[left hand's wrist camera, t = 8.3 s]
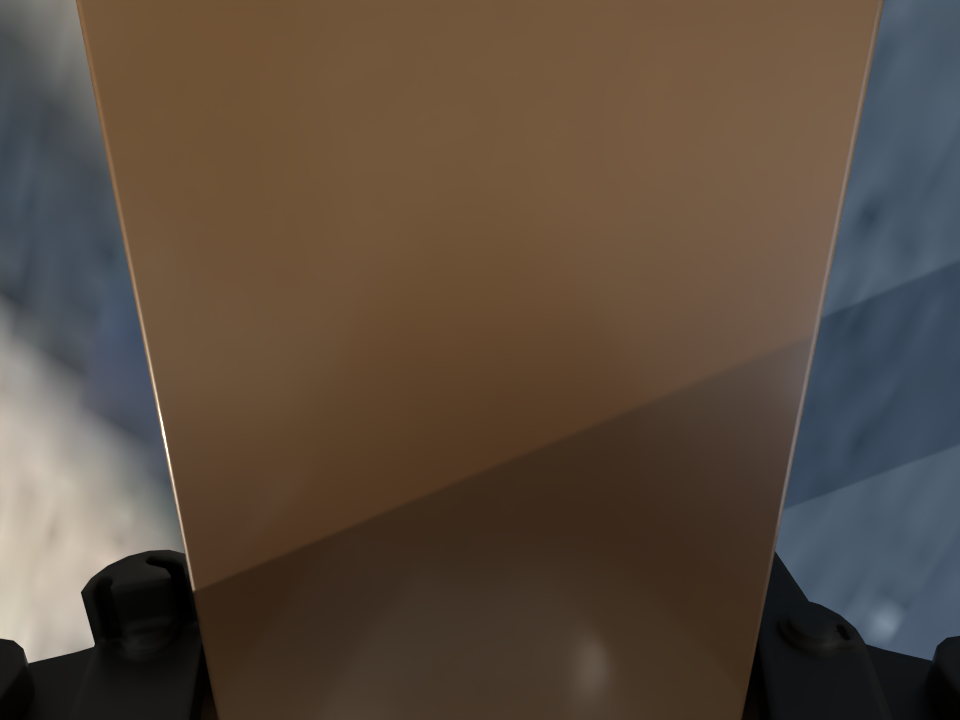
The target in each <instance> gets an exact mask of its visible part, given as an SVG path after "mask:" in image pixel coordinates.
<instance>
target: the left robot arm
mask: <svg viewBox="0 0 960 720" xmlns="http://www.w3.org/2000/svg"><path fill="white" fill-rule="evenodd" d="M81 595H82V598H83V602H84V606H85V609H86V613H87V616H88V620H89V624H90V627H91V631H92V635H93V638H94V642H95V646H94V647H92V648H89V649H85V650H82V651H79V652H75V653H71V654H67V655H62V656H58V657H54V658H50V659H45V660H41V661H37V662H32V663H28V662H27V659H26V656H25V653H24V649H23V648H22V647H21V646H19V645H18V644H17V643H16V642H15V641H13V640H6V639H0V720H218V718H217V713H216V708H215V703H214V698H213V693H212V688H211V683H210V678H209V673H208V668H207V663H206V658H205V652H204V647H203V642H202V637H201V632H200V627H199V622H198V617H197V612H196V607H195V602H194V597H193V592H192V587H191V581H190V576H189V571H188V566H187V561H186V556H185V554H184V553H179V552H175V551H171V550H155V551H147V552H143V553H139V554H135V555H131V556H128V557H125V558H123V559H121V560H119V561H117V562H115V563H113V564H110V565H108V566H107V567H105V568H104V569H103V570H101V571H100V572H99V573H97V574H96V575H95V576H93V577H92V578H91V579H90V580H89V582H88V583H87V585H86V586H85V587H84V589H83V590H82V591H81ZM742 720H960V636H956V637H949V638H946V639H945V640H944V641H942V642H941V643H940V644H939V645H938V646H937V648H936V651H935V654H934V657H933V660H932V661H930V660H926V659H922V658H917V657H913V656H909V655H905V654H900V653H896V652H892V651H887V650H883V649H880V648H877V647H873V646H870V645H867V644H865V642H864V641H863V639H862V638H861V636H860V634H859V633H858V631H857V630H856V628H855V627H854V626H852V625H851V624H850V623H849V622H848V621H846V620H845V619H844V618H843V617H842V616H841V615H839V614H837V613H835V612H833V611H832V610H830V609H828V608H826V607H824V606H822V605H820V604H816V603H813V602H809V601H808V599H807V598H806V596H805V595H804V593H803V592H802V590H801V589H800V587H799V586H798V584H797V583H796V582H795V580H794V579H793V577H792V576H791V574H790V573H789V571H788V570H787V568H786V567H785V565H784V564H783V562H782V561H781V559H780V558H779V556H778V555H777V553H776V552H775V553H774V558H773V563H772V568H771V573H770V578H769V584H768V589H767V594H766V599H765V604H764V609H763V614H762V619H761V624H760V629H759V634H758V639H757V644H756V649H755V654H754V659H753V664H752V669H751V674H750V679H749V684H748V689H747V694H746V699H745V704H744V709H743V715H742Z"/></svg>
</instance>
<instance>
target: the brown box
mask: <svg viewBox="0 0 960 720" xmlns="http://www.w3.org/2000/svg"><path fill="white" fill-rule="evenodd" d="M76 3H77V9H78V14H79V19H80V24H81V29H82V34H83V39H84V44H85V49H86V54H87V59H88V64H89V69H90V74H91V80H92V85H93V90H94V95H95V100H96V105H97V110H98V115H99V120H100V125H101V130H102V135H103V140H104V145H105V150H106V156H107V161H108V166H109V171H110V176H111V181H112V186H113V191H114V196H115V201H116V206H117V211H118V216H119V221H120V227H121V232H122V237H123V242H124V247H125V252H126V257H127V262H128V267H129V272H130V277H131V282H132V287H133V292H134V298H135V303H136V308H137V313H138V318H139V323H140V328H141V333H142V338H143V343H144V348H145V353H146V358H147V363H148V369H149V374H150V379H151V384H152V389H153V394H154V399H155V404H156V409H157V414H158V419H159V424H160V429H161V434H162V439H163V445H164V450H165V455H166V460H167V465H168V470H169V475H170V480H171V485H172V490H173V495H174V500H175V505H176V510H177V516H178V521H179V526H180V531H181V536H182V541H183V546H184V551H185V556H186V561H187V566H188V571H189V576H190V581H191V587H192V592H193V597H194V602H195V607H196V612H197V617H198V622H199V627H200V632H201V637H202V642H203V647H204V652H205V658H206V663H207V668H208V673H209V678H210V683H211V688H212V693H213V698H214V703H215V708H216V713H217V718H218V720H742V715H743V709H744V704H745V699H746V694H747V689H748V684H749V679H750V674H751V669H752V664H753V659H754V654H755V649H756V644H757V639H758V634H759V629H760V624H761V619H762V614H763V609H764V604H765V599H766V594H767V589H768V584H769V578H770V573H771V568H772V563H773V558H774V553H775V548H776V543H777V538H778V533H779V528H780V523H781V518H782V513H783V508H784V503H785V498H786V493H787V488H788V483H789V478H790V473H791V468H792V463H793V458H794V452H795V447H796V442H797V437H798V432H799V427H800V422H801V417H802V412H803V407H804V402H805V397H806V392H807V387H808V382H809V377H810V372H811V367H812V362H813V357H814V352H815V347H816V342H817V337H818V332H819V327H820V321H821V316H822V311H823V306H824V301H825V296H826V291H827V286H828V281H829V276H830V271H831V266H832V261H833V256H834V251H835V246H836V241H837V236H838V231H839V226H840V221H841V216H842V211H843V206H844V201H845V195H846V190H847V185H848V180H849V175H850V170H851V165H852V160H853V155H854V150H855V145H856V140H857V135H858V130H859V125H860V120H861V115H862V110H863V105H864V100H865V95H866V90H867V85H868V80H869V75H870V69H871V64H872V59H873V54H874V49H875V44H876V39H877V34H878V29H879V24H880V19H881V14H882V9H883V4H884V0H76Z"/></svg>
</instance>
